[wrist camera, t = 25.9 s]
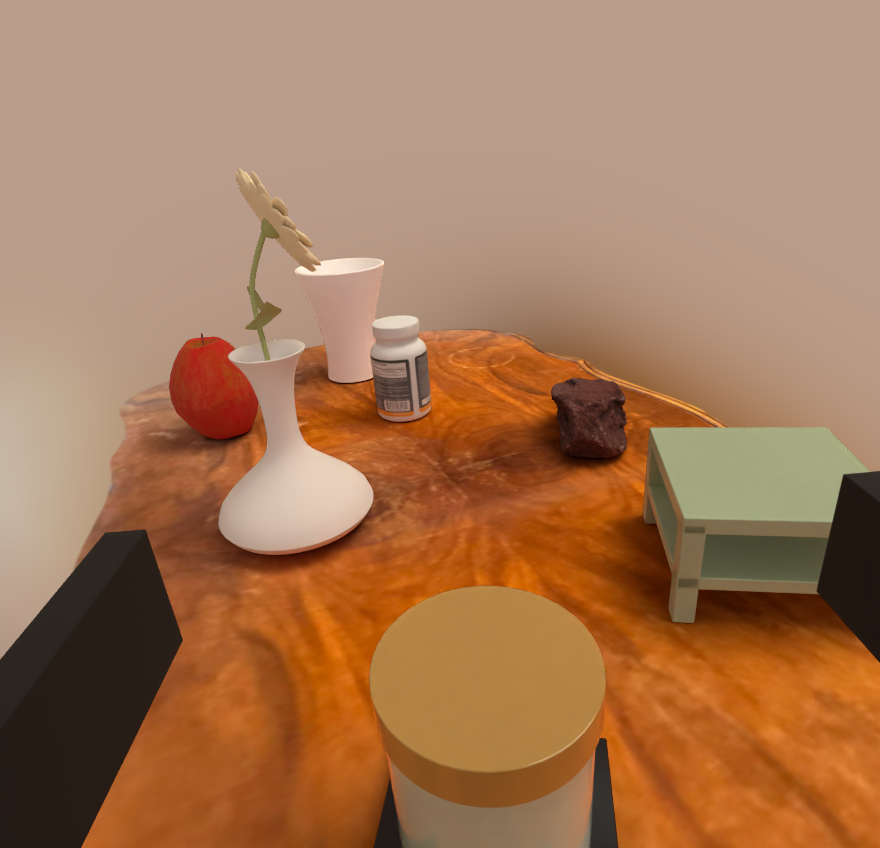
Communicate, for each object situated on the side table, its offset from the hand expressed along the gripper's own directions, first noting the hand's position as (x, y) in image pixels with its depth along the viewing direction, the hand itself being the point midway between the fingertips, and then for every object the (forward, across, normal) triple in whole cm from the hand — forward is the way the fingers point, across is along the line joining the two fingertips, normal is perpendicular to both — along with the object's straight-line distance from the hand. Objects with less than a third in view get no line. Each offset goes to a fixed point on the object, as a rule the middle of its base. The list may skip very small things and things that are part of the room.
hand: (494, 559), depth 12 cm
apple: (+47, -24, -18) cm, 56 cm away
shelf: (+21, +17, -18) cm, 33 cm away
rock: (+40, +12, -18) cm, 46 cm away
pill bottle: (+49, -5, -18) cm, 53 cm away
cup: (+63, -12, -18) cm, 66 cm away
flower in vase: (+30, -12, -18) cm, 37 cm away
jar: (+5, 0, -16) cm, 17 cm away
